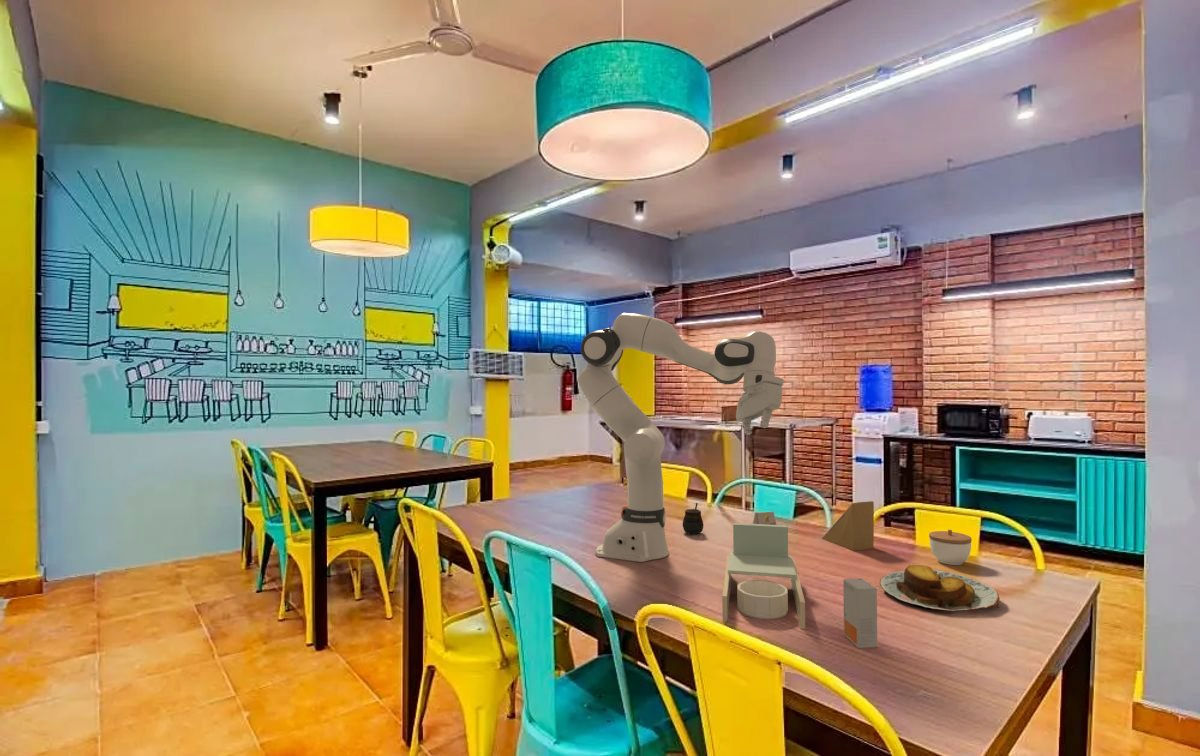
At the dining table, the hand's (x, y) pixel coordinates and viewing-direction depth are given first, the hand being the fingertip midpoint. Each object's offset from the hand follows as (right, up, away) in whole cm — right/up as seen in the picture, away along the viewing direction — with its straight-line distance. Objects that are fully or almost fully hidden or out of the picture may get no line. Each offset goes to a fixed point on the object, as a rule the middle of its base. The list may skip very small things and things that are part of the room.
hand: (755, 430), depth 171 cm
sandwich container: (+36, -39, +25) cm, 59 cm away
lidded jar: (+58, -39, +4) cm, 70 cm away
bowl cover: (-3, -33, -18) cm, 38 cm away
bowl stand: (-5, -39, -25) cm, 46 cm away
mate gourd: (-12, -39, +39) cm, 57 cm away
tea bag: (+10, -39, +26) cm, 48 cm away
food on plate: (+39, -39, -23) cm, 60 cm away
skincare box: (+9, -39, -49) cm, 63 cm away
